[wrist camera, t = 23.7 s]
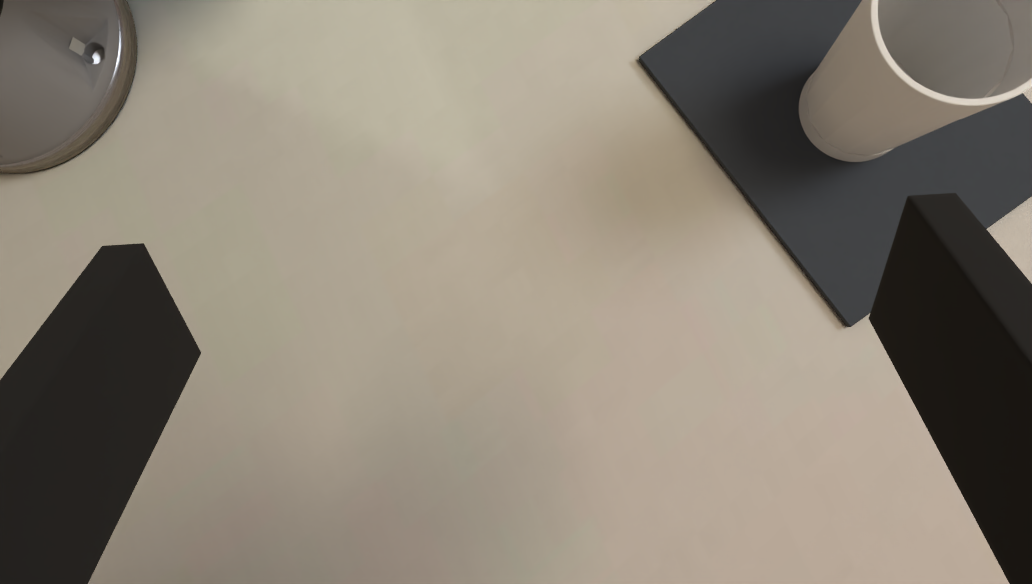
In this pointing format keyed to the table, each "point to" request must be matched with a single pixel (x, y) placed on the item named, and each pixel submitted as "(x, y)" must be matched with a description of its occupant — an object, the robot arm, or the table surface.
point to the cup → (914, 72)
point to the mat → (808, 171)
